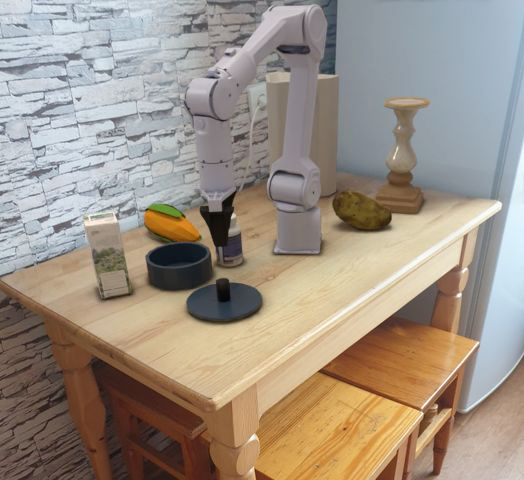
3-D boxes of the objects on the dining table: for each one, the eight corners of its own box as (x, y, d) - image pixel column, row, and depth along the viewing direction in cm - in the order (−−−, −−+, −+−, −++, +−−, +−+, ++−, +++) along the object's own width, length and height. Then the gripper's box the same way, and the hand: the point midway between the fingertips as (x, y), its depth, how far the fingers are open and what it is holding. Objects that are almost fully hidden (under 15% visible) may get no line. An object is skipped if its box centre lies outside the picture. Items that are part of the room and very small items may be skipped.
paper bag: (246, 195, 151) (239, 80, 135) (279, 180, 160) (276, 71, 145) (306, 207, 141) (306, 84, 125) (337, 190, 150) (340, 75, 135)
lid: (266, 288, 105) (265, 265, 102) (256, 325, 94) (254, 300, 91) (196, 286, 107) (194, 263, 104) (178, 322, 96) (174, 298, 93)
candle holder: (370, 210, 137) (376, 104, 124) (380, 196, 145) (387, 95, 132) (415, 214, 133) (427, 106, 120) (423, 199, 141) (435, 96, 128)
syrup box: (127, 281, 110) (113, 209, 102) (132, 294, 105) (118, 219, 97) (98, 287, 108) (81, 214, 100) (101, 300, 103) (84, 225, 96)
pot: (218, 263, 115) (216, 242, 112) (204, 291, 105) (202, 268, 102) (159, 262, 117) (156, 241, 114) (140, 289, 107) (136, 267, 104)
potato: (380, 237, 122) (383, 201, 118) (327, 228, 128) (327, 193, 124) (394, 225, 128) (397, 190, 124) (342, 216, 134) (343, 183, 130)
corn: (159, 193, 130) (211, 212, 118) (165, 223, 135) (216, 246, 122) (131, 203, 127) (182, 224, 114) (139, 234, 131) (189, 258, 118)
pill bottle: (248, 259, 116) (245, 213, 111) (233, 269, 112) (229, 222, 107) (226, 254, 118) (223, 209, 113) (211, 264, 115) (206, 218, 109)
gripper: (195, 148, 98) (203, 223, 106) (185, 173, 86) (195, 255, 94) (236, 146, 98) (241, 221, 105) (231, 170, 86) (237, 253, 93)
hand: (222, 237), depth 99 cm, fingers open, 7 cm apart
